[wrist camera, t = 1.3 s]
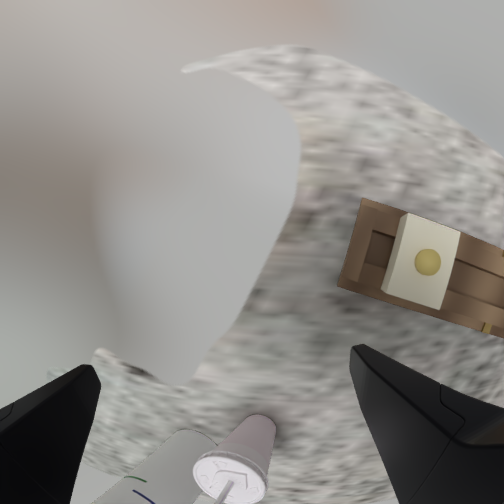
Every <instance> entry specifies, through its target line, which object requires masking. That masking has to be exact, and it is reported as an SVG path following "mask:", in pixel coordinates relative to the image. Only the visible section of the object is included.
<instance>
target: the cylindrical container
mask: <svg viewBox="0 0 504 504" xmlns="http://www.w3.org/2000/svg"><path fill="white" fill-rule="evenodd" d="M215 447H217V445H216V444H215V443H214V442H213V441H212V440H211V439H209V438H208V437H207V436H205V435H203V434H202V433H199V432H197V431H194V430H188V429H183V430H179V431H177V432H175V433H174V434H173V435H172V436H171V437H170V438H168V439H167V440H166V441H165V442H164V443H163V444H162V445H161V446H160V447H159V448H157V449H156V450H155V451H154V452H153V453H152V454H151V455H150V456H148V457H147V458H146V459H145V460H144V461H143V462H142V463H140V464H139V465H138V466H137V467H136V468H135V469H133V470H132V471H131V472H130V473H129V474H127V475H126V476H125V477H124V478H123V479H121V480H120V481H119V482H118V483H117V484H115V485H114V486H113V487H112V488H110V489H109V490H108V491H106V492H105V493H104V494H103V495H102V496H100V497H99V498H97V500H95V501H94V502H92V503H91V504H193V503H194V502H195V500H196V499H197V498H198V496H199V495H200V494H201V492H202V491H203V490H202V489H201V488H200V487H199V485H198V484H197V482H196V481H195V479H194V476H193V467H194V465H195V464H196V462H197V461H198V459H199V458H200V457H201V456H202V455H203V454H205V453H207V452H210V451H212V450H213V449H214V448H215Z"/></svg>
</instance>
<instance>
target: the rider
mask: <svg viewBox="0 0 504 504" xmlns="http://www.w3.org/2000/svg"><path fill="white" fill-rule="evenodd" d="M460 233H461V232H459V231H457V230H454V229H452V228H449V227H446V226H444V225H441V224H439V223H436V222H433V221H430V220H428V219H425V218H422V217H419V216H416V215H414V214H411V213H407V214H405V215H404V216H402V217H401V218H400V222H399V226H398V230H397V234H396V238H395V242H394V245H393V249H392V253H391V256H390V260H389V263H388V266H387V270H386V273H385V276H384V280H383V283H382V286H381V290H382V291H384V292H385V293H387V294H390V295H393V296H396V297H399V298H402V299H406V300H409V301H412V302H415V303H418V304H421V305H424V306H428V307H431V308H434V309H437V310H440V307H441V304H442V301H443V298H444V295H445V292H446V288H447V285H448V282H449V278H450V275H451V271H452V267H453V263H454V259H455V255H456V251H457V247H458V243H459V238H460Z"/></svg>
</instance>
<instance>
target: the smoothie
mask: <svg viewBox="0 0 504 504" xmlns="http://www.w3.org/2000/svg"><path fill="white" fill-rule="evenodd" d="M275 434H276V426H275V424H274V422H273V421H272V420H271V419H269V418H268V417H266V416H263V415H251V416H248V417H247V418H246V419H245V420H244V421H243V422H242V423H241V424H240V425H239V426H238V427H237V428H236V429H235V430H234V431H233V432H232V433H231V434H230V435H228V436H227V437H226V438H225V439H224V440H223V441H222V442H221V443H220V444H219V445H218V446H217V447H215V448H214V449H213V450H212V451H210V452H207V453H205V454H203V455H202V456H201V457H200V458H199V459H198V461H197V462H196V464H195V465H194V467H193V476H194V479H195V481H196V482H197V484H198V485H199V487H200V488H201V489H202V490H203V491H204V492H205V493H207V494H208V495H210V496H211V497H213V498H215V499H216V501H215V503H214V504H223V502H224V503H227V504H254V503H256V502H258V501H260V500H261V499H262V498H263V496H264V494H265V492H266V491H267V489H268V485H269V482H268V478H267V474H268V469H269V464H270V459H271V455H272V450H273V445H274V440H275Z"/></svg>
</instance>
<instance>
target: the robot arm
mask: <svg viewBox="0 0 504 504" xmlns="http://www.w3.org/2000/svg"><path fill="white" fill-rule="evenodd" d="M349 367H350V374H351V377H352V380H353V384H354V387H355V391H356V394H357V398H358V401H359V405H360V408H361V411H362V413H363V416H364V418H365V420H366V423H367V425H368V427H369V430H370V432H371V434H372V437H373V439H374V442H375V444H376V446H377V449H378V451H379V454H380V456H381V459H382V461H383V463H384V466H385V468H386V471H387V473H388V476H389V478H390V481H391V484H392V486H393V489H394V491H395V494H396V496H397V499H398V501H399V504H504V408H501V407H498V406H495V405H493V404H490V403H487V402H484V401H481V400H478V399H475V398H473V397H470V396H467V395H465V394H462V393H460V392H458V391H456V390H453V389H451V388H449V387H447V386H445V385H443V384H441V385H440V383H439V382H437V381H435V380H433V379H431V378H429V377H427V376H425V375H423V374H421V373H419V372H417V371H415V370H413V369H411V368H409V367H407V366H405V365H403V364H401V363H399V362H397V361H395V360H393V359H391V358H389V357H387V356H386V355H384V354H382V353H380V352H378V351H376V350H374V349H372V348H370V347H368V346H366V345H364V344H360V345H356V346H352V348H351V352H350V365H349ZM100 390H101V383H100V380H99V378H98V376H97V374H96V372H95V370H94V368H93V366H92V365H86V364H83V365H80V366H78V367H76V368H74V369H73V370H71V371H69V372H67V373H65V374H64V375H62V376H60V377H58V378H57V379H55V380H53V381H51V382H49V383H47V384H46V385H44V386H42V387H40V388H38V389H37V390H35V391H33V392H31V393H29V394H28V395H26V396H24V397H22V398H20V399H18V400H17V401H15V402H13V403H11V404H9V405H7V406H5V407H3V408H1V409H0V504H70V501H71V496H72V492H73V488H74V484H75V480H76V477H77V473H78V469H79V465H80V462H81V459H82V455H83V452H84V449H85V445H86V442H87V439H88V436H89V433H90V430H91V427H92V423H93V420H94V416H95V411H96V407H97V403H98V398H99V394H100Z"/></svg>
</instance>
